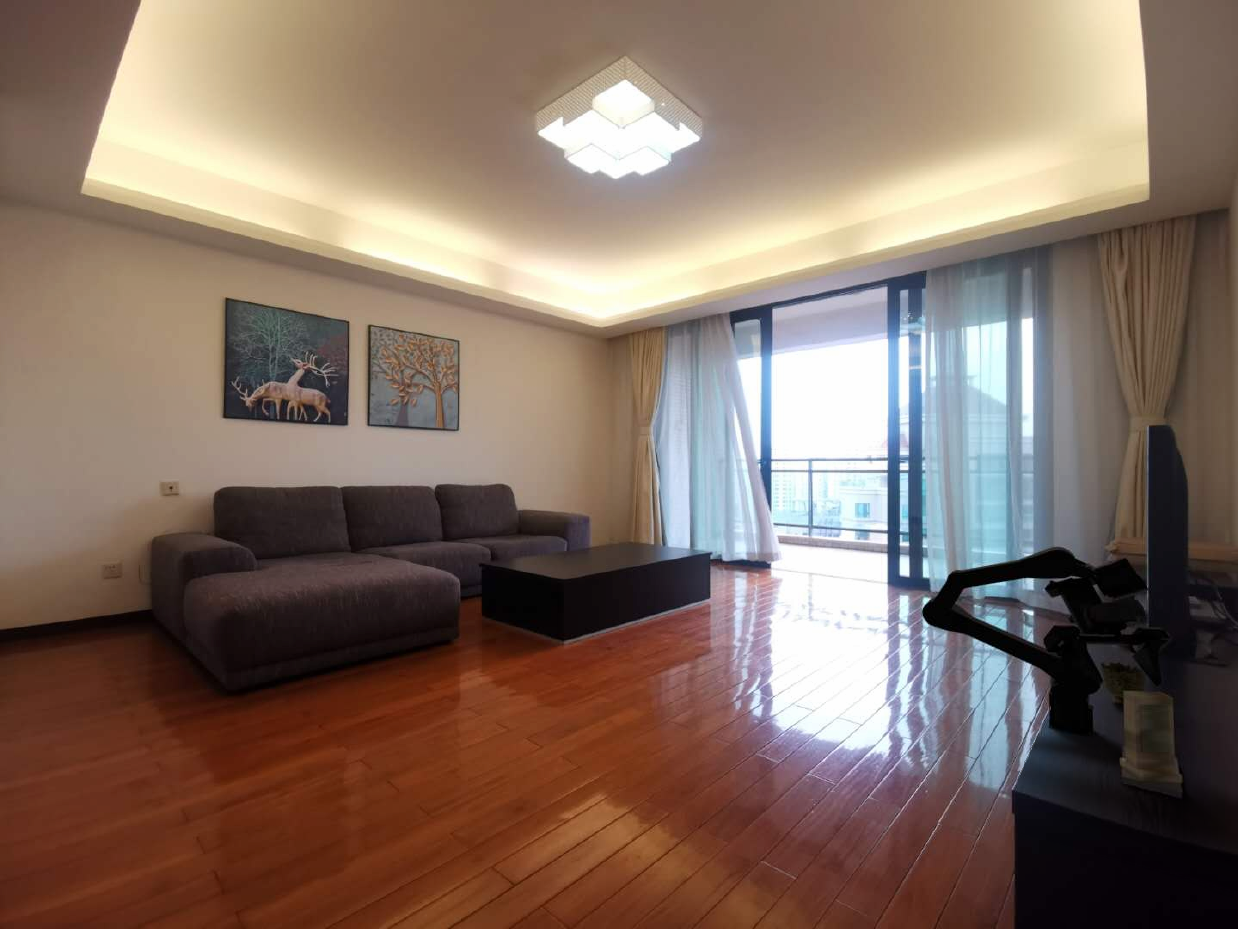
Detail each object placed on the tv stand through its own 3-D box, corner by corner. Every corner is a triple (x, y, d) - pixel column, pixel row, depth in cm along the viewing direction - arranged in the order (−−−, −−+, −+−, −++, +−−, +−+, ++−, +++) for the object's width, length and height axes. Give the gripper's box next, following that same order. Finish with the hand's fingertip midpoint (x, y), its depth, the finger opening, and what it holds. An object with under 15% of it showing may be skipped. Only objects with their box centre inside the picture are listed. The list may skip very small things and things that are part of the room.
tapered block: (1143, 781, 91) (1140, 699, 91) (1120, 765, 96) (1117, 688, 96) (1182, 783, 90) (1179, 701, 91) (1157, 767, 95) (1154, 689, 95)
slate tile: (1122, 783, 92) (1121, 776, 92) (1122, 752, 103) (1122, 745, 103) (1182, 800, 88) (1182, 792, 88) (1176, 765, 98) (1176, 758, 98)
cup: (1124, 696, 128) (1123, 661, 128) (1156, 710, 121) (1155, 672, 121) (1092, 697, 128) (1091, 661, 128) (1123, 711, 121) (1121, 673, 121)
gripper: (1050, 582, 106) (1092, 660, 95) (1162, 583, 104) (1218, 664, 93) (1027, 614, 114) (1064, 690, 103) (1131, 616, 111) (1180, 694, 100)
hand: (1130, 684), depth 100 cm, fingers open, 9 cm apart
